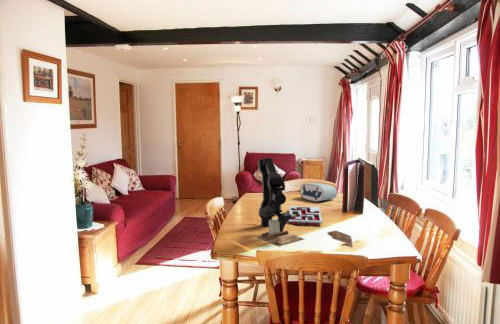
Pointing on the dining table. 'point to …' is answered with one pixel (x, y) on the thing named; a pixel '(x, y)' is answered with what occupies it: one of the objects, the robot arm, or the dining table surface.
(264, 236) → the walnut rack
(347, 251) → the dining table surface
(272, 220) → the taupe rectangular block
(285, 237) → the upper oak offcut
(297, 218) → the maze game
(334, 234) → the wooden fragment
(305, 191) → the grey rounded oval block
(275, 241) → the lower oak offcut
